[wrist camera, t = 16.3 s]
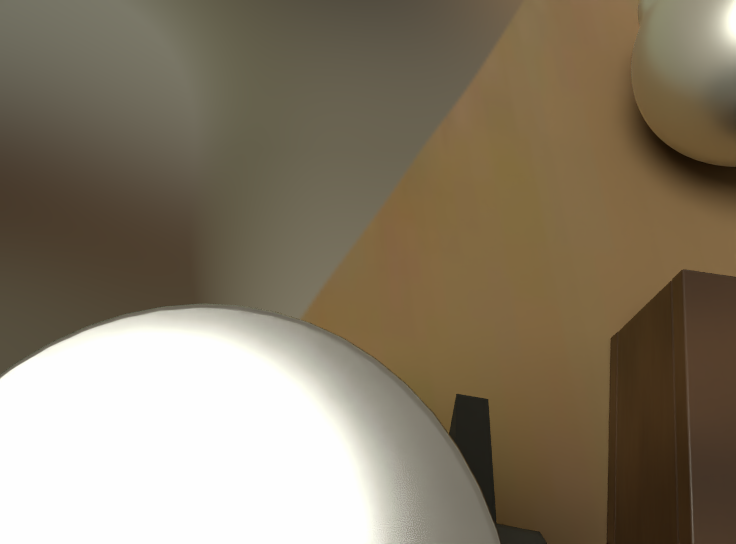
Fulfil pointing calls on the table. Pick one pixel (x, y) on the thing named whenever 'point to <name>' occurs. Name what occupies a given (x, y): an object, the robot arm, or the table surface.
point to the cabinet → (675, 417)
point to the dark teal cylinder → (225, 439)
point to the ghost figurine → (688, 76)
